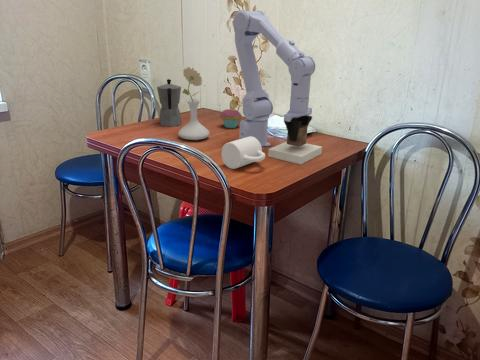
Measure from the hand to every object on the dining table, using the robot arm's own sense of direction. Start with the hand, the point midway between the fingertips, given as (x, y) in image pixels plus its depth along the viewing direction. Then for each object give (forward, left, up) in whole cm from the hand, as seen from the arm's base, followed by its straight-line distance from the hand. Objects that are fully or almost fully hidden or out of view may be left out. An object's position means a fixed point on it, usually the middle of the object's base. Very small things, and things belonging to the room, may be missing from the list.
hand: (296, 139), depth 137 cm
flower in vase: (-28, +28, -6) cm, 40 cm away
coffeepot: (-33, +49, -6) cm, 59 cm away
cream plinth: (0, 0, -5) cm, 5 cm away
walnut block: (0, 0, -2) cm, 2 cm away
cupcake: (-10, +40, -6) cm, 42 cm away
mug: (-19, -6, -6) cm, 21 cm away
